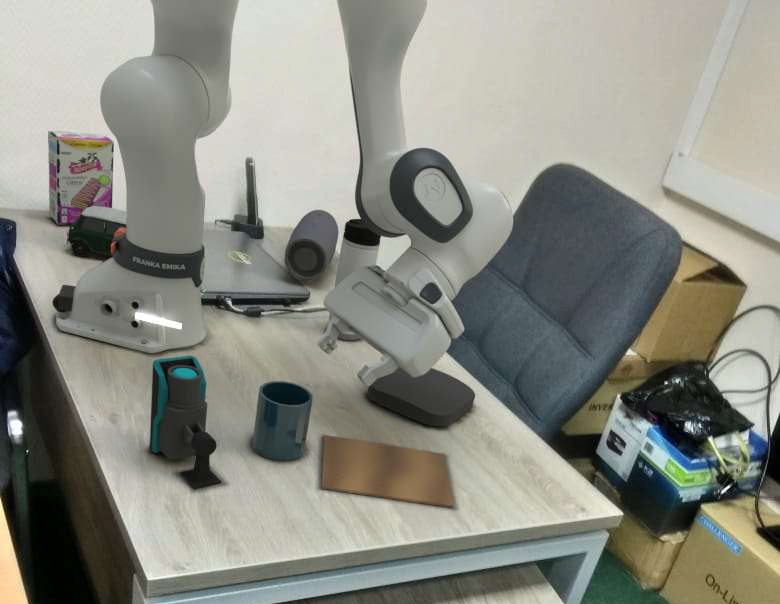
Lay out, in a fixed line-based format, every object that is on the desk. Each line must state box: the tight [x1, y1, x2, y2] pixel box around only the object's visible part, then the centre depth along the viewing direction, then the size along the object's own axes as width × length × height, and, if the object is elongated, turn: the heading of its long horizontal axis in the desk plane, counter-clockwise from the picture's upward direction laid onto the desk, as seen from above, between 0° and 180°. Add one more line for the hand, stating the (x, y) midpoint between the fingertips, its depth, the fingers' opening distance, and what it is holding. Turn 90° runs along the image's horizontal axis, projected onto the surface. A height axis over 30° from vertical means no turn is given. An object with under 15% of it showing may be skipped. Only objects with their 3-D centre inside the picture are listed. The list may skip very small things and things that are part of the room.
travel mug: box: [327, 218, 382, 341], centre depth 138 cm, size 6×7×20 cm
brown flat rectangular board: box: [321, 434, 454, 509], centre depth 107 cm, size 17×13×1 cm
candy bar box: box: [47, 130, 115, 226], centre depth 158 cm, size 11×5×16 cm, turn 130°
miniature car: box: [65, 206, 126, 257], centre depth 149 cm, size 9×18×8 cm, turn 89°
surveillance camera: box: [149, 355, 222, 490], centre depth 95 cm, size 6×12×10 cm
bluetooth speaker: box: [284, 209, 339, 282], centre depth 165 cm, size 23×9×10 cm, turn 178°
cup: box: [252, 380, 314, 462], centre depth 104 cm, size 7×7×8 cm
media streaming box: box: [367, 367, 476, 427], centre depth 126 cm, size 15×15×3 cm
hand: (341, 365), depth 105 cm, fingers open, 8 cm apart
